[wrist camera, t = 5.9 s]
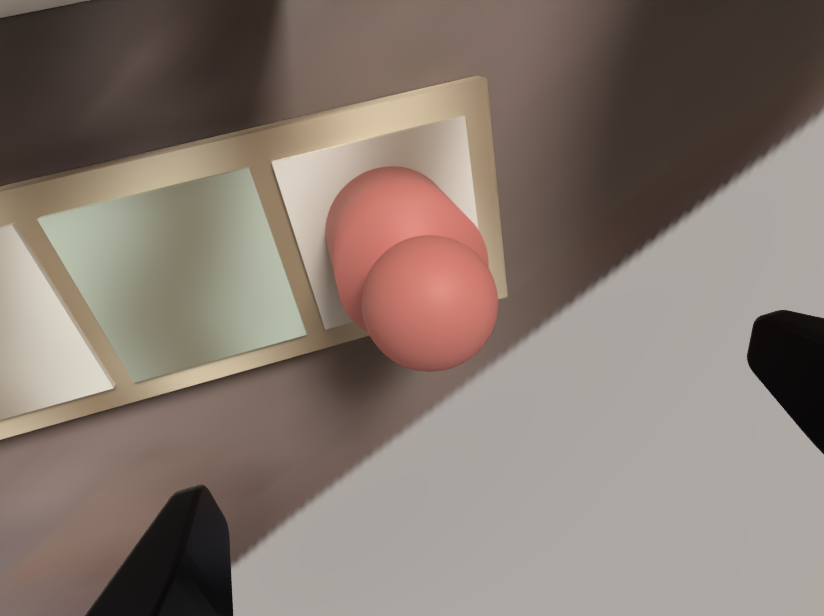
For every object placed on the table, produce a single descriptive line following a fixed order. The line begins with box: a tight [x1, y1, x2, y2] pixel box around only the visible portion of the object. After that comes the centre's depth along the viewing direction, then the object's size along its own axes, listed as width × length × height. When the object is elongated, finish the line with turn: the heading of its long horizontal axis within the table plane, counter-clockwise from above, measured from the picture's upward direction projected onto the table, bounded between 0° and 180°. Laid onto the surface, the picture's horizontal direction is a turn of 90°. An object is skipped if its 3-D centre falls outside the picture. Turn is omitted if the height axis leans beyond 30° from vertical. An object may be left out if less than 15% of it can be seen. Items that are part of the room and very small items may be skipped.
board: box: [0, 76, 508, 440], centre depth 15 cm, size 25×7×1 cm, turn 101°
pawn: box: [325, 166, 498, 372], centre depth 13 cm, size 4×4×6 cm
